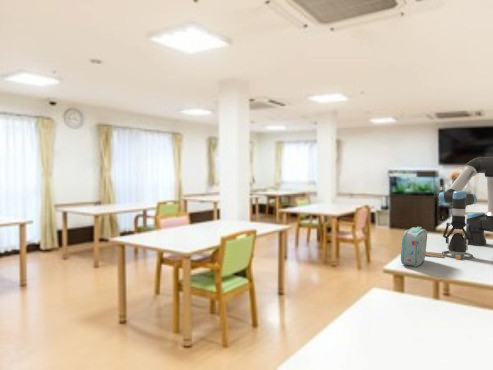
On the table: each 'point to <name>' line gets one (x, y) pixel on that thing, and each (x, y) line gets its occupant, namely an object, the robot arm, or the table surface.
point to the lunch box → (414, 246)
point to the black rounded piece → (457, 245)
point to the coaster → (434, 254)
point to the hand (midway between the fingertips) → (457, 249)
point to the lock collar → (457, 256)
